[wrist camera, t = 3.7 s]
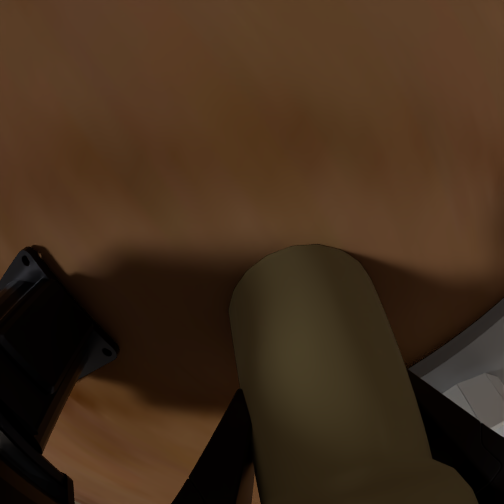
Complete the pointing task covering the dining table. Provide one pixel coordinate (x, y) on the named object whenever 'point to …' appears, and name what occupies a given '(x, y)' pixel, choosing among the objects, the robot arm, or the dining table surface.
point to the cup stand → (472, 369)
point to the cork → (330, 388)
